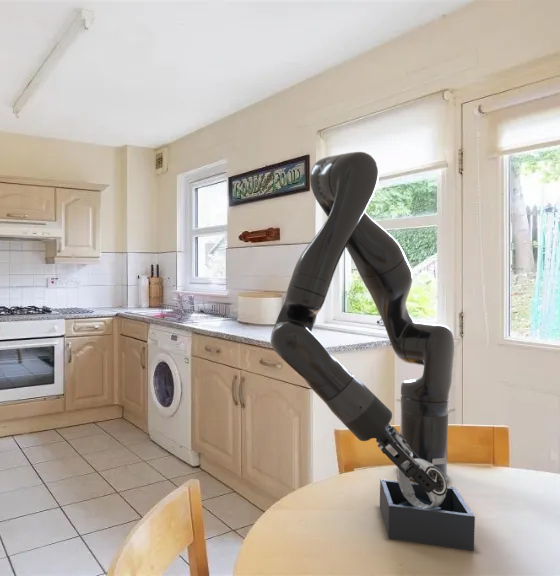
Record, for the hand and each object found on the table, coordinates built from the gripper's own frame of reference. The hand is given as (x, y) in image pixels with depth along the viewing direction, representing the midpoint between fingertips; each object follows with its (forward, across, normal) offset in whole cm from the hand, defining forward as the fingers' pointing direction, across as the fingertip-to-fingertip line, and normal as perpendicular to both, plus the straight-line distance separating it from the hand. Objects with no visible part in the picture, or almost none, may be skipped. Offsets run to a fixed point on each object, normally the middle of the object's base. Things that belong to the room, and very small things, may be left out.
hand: (426, 478), depth 82 cm
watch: (+5, 0, +7) cm, 8 cm away
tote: (+6, 0, +7) cm, 9 cm away
